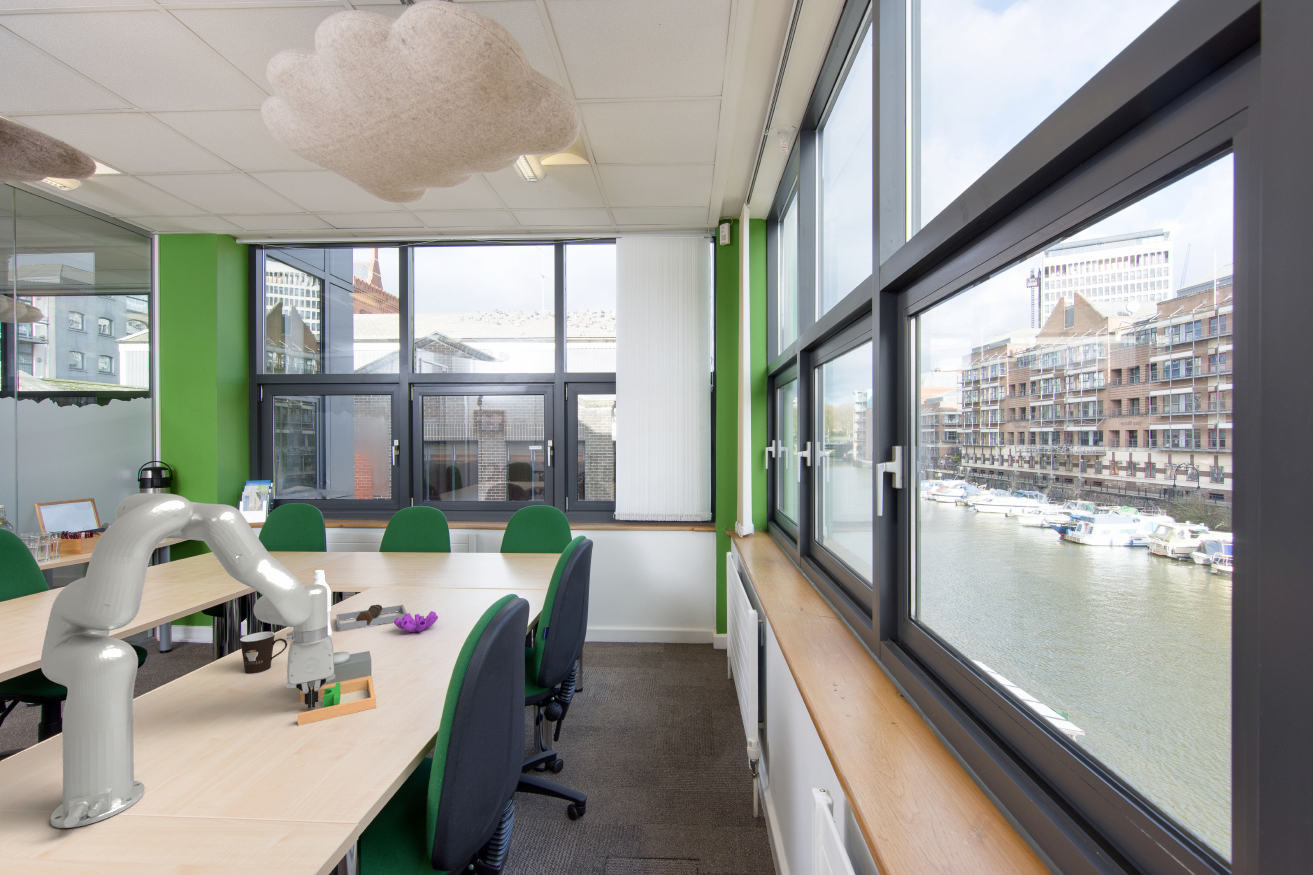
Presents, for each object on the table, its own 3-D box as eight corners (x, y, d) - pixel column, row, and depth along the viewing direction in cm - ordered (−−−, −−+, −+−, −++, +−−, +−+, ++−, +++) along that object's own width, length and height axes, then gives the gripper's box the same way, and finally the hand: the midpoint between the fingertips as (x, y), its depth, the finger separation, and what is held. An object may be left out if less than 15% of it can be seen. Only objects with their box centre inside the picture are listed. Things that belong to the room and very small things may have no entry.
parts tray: (407, 620, 217) (407, 613, 217) (337, 631, 205) (336, 624, 205) (402, 610, 229) (402, 604, 229) (336, 620, 217) (336, 614, 217)
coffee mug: (233, 673, 168) (232, 640, 168) (259, 662, 176) (259, 630, 176) (264, 677, 165) (264, 643, 165) (289, 665, 173) (289, 633, 174)
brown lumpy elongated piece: (380, 617, 225) (365, 629, 210) (368, 611, 224) (353, 623, 209) (388, 604, 225) (374, 615, 210) (376, 598, 224) (361, 609, 209)
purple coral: (437, 639, 204) (435, 623, 199) (392, 644, 200) (389, 627, 195) (440, 613, 213) (438, 597, 208) (397, 617, 209) (394, 601, 204)
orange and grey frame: (375, 707, 145) (375, 674, 145) (297, 725, 136) (297, 690, 136) (369, 674, 166) (369, 645, 166) (301, 687, 157) (301, 657, 157)
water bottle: (337, 640, 195) (336, 568, 196) (319, 647, 188) (318, 573, 189) (320, 638, 197) (319, 567, 198) (302, 646, 190) (301, 572, 191)
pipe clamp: (325, 700, 150) (325, 684, 150) (340, 697, 151) (340, 681, 151) (322, 717, 140) (322, 699, 140) (338, 714, 142) (338, 696, 142)
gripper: (274, 644, 137) (275, 719, 137) (344, 633, 145) (345, 704, 144) (277, 635, 144) (277, 707, 143) (343, 625, 151) (344, 693, 151)
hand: (311, 705), depth 144 cm, fingers closed
